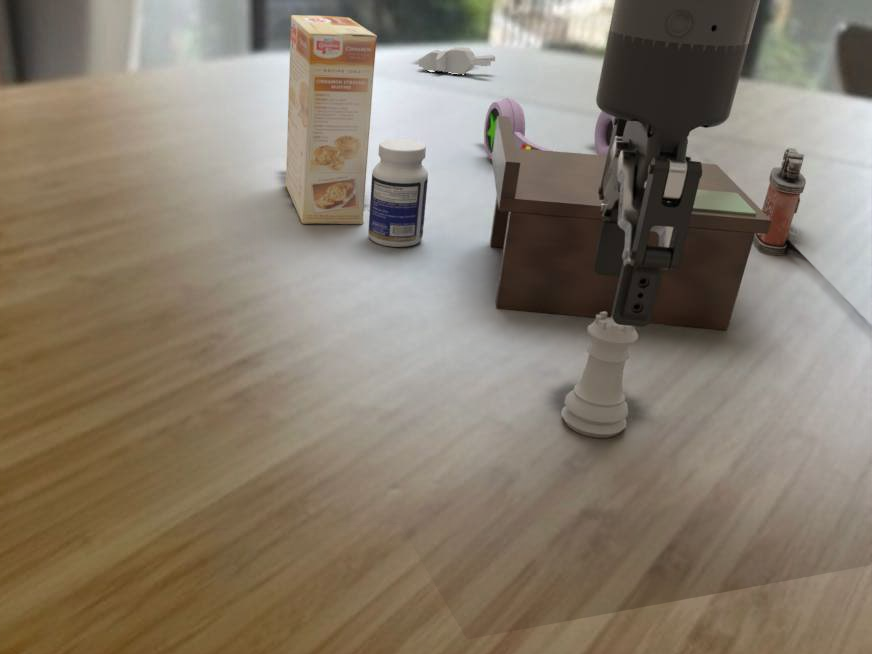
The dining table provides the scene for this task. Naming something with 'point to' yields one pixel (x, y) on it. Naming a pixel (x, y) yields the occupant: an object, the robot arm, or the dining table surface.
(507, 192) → the brown wooden desk
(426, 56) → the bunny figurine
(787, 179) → the lighter
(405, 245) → the pill bottle
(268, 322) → the dining table surface
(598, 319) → the rook chess piece
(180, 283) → the dining table surface
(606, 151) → the headphones
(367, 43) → the coffeecake box
